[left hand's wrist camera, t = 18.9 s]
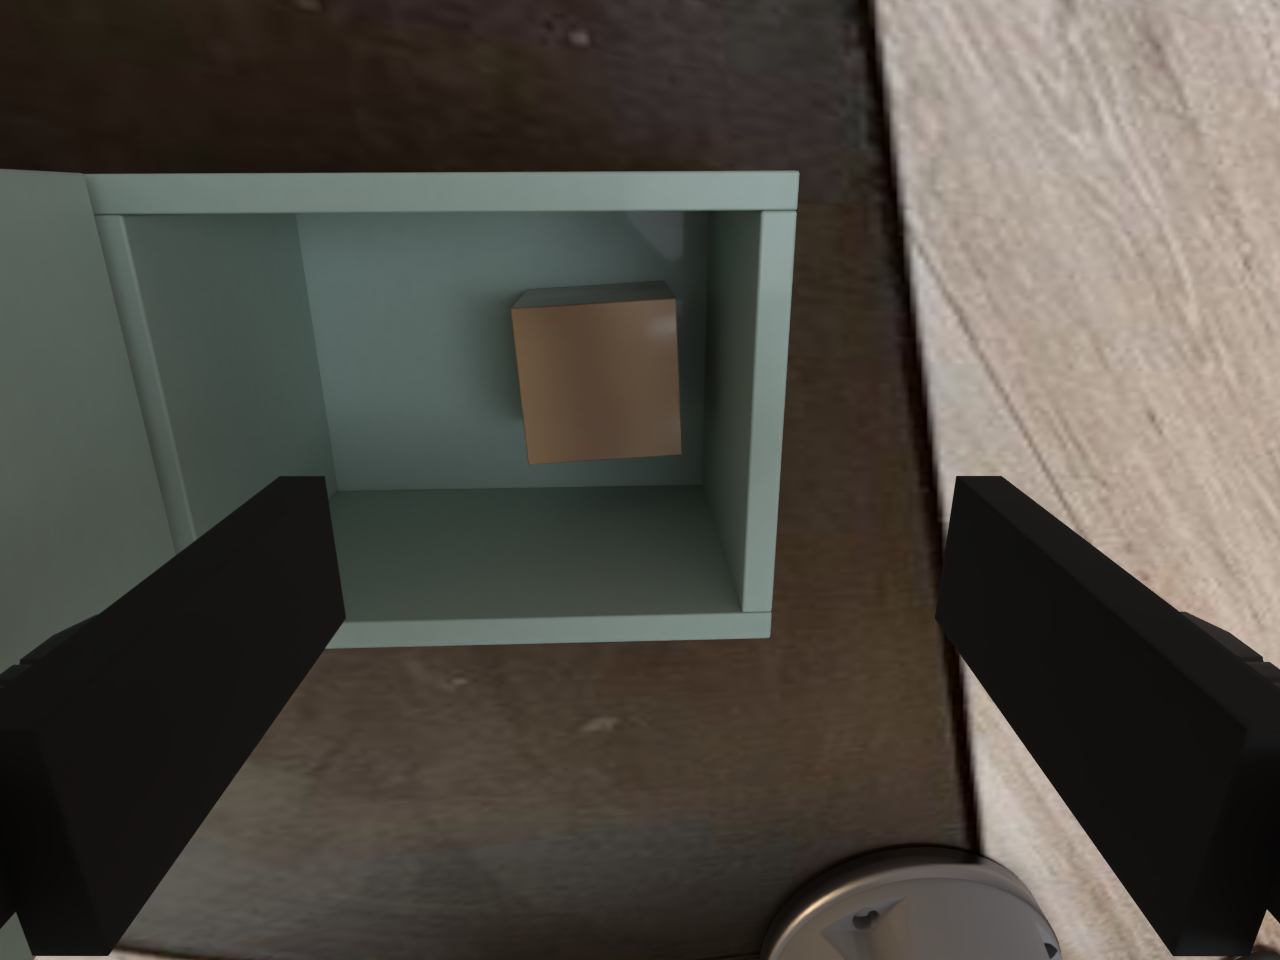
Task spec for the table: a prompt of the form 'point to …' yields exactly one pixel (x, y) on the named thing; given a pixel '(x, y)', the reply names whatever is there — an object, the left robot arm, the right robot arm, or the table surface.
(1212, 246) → the table surface
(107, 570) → the lid
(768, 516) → the chest
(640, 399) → the block
